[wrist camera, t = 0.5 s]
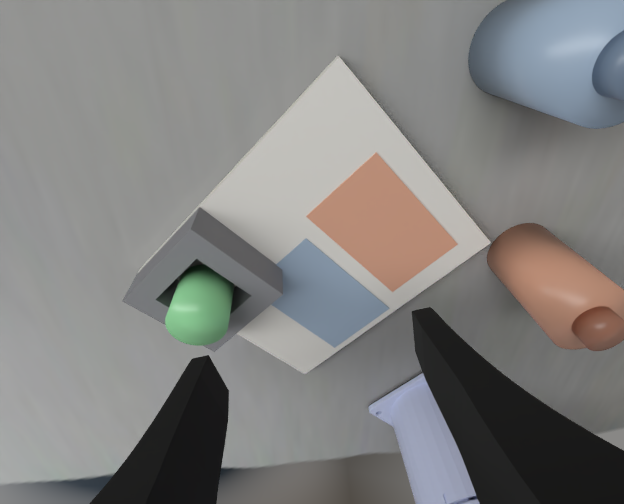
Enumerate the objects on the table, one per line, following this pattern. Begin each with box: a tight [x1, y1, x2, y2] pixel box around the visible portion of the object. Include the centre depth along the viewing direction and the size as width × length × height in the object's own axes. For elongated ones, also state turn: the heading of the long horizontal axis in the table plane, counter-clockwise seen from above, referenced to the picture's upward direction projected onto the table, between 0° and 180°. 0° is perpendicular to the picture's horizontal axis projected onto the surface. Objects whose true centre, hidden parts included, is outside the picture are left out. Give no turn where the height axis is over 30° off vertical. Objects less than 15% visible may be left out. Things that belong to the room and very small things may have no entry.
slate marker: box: [468, 0, 624, 129], centre depth 14 cm, size 4×4×8 cm
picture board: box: [123, 56, 491, 374], centre depth 21 cm, size 14×16×3 cm
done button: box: [165, 264, 234, 345], centre depth 19 cm, size 3×3×3 cm
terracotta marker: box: [487, 223, 624, 351], centre depth 20 cm, size 4×4×8 cm
